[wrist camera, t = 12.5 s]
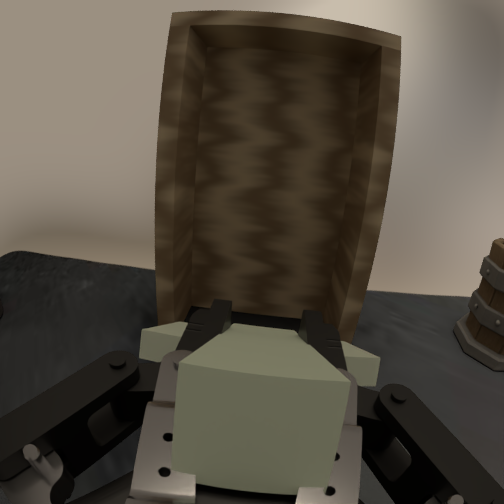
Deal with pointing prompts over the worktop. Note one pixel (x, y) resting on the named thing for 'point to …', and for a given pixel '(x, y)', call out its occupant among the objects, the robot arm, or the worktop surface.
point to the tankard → (486, 313)
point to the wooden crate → (272, 163)
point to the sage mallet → (257, 407)
